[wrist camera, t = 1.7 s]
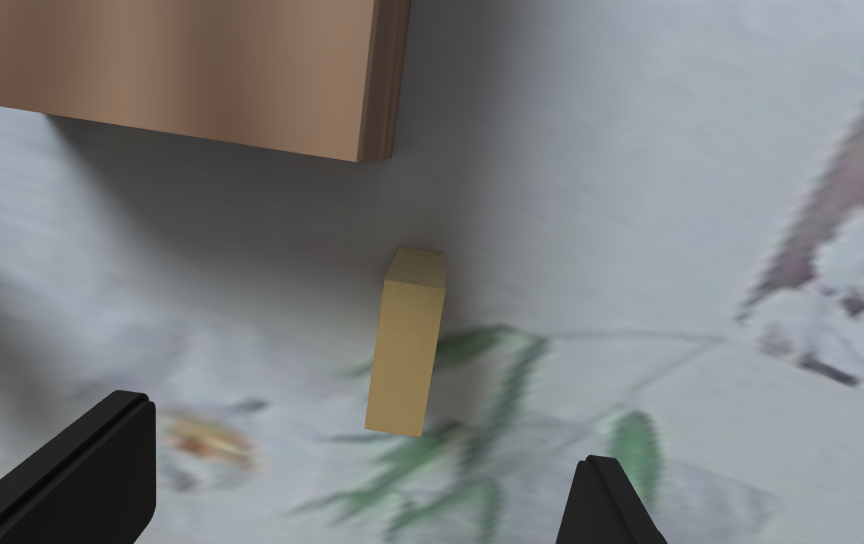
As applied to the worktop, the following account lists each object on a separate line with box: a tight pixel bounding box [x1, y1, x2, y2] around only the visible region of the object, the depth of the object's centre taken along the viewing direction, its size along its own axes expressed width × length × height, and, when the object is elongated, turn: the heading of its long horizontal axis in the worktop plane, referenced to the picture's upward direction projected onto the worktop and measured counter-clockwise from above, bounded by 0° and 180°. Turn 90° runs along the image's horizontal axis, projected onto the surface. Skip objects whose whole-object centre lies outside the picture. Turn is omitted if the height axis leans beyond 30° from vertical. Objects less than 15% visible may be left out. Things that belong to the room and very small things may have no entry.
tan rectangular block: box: [365, 247, 446, 437], centre depth 20 cm, size 2×6×6 cm, turn 171°
